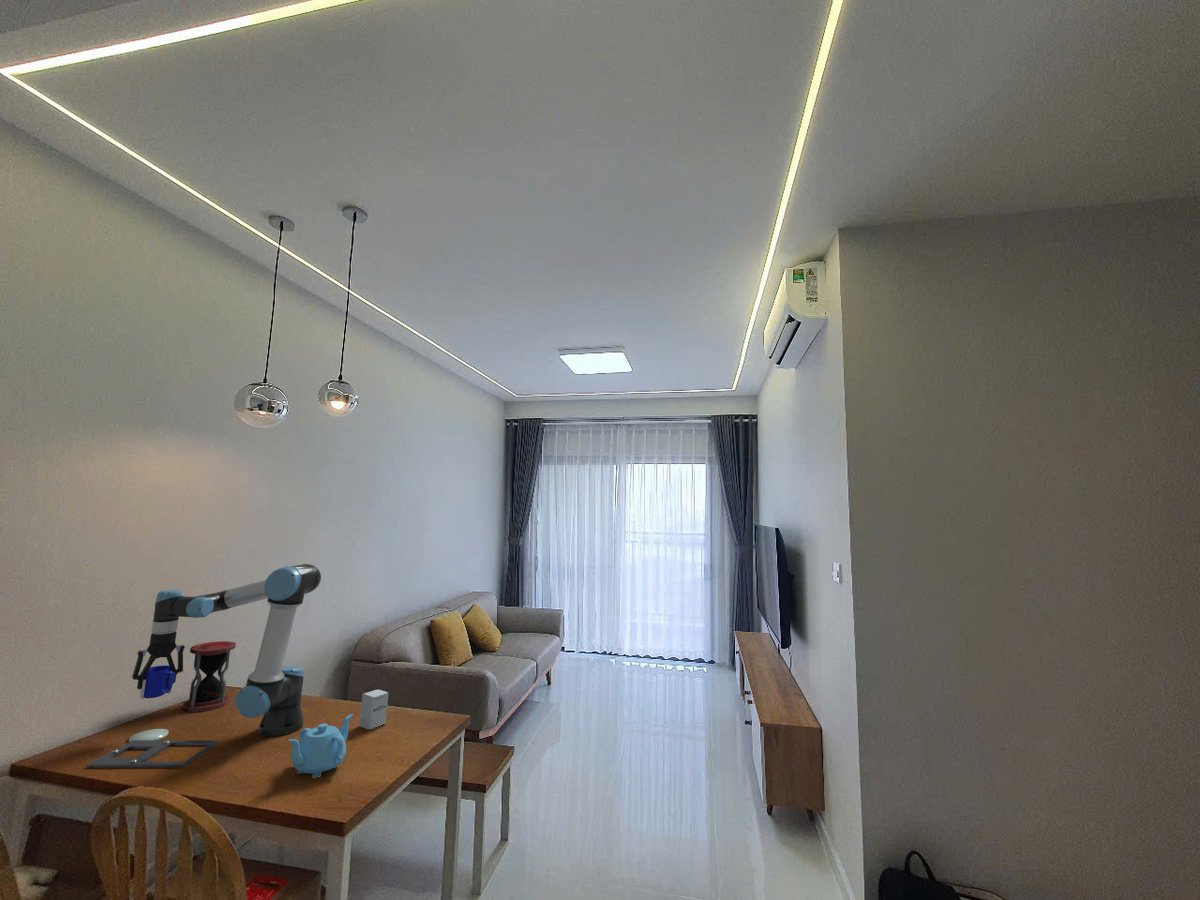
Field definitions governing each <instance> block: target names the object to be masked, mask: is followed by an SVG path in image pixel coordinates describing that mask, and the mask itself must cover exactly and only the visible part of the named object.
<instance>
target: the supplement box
mask: <svg viewBox="0 0 1200 900" xmlns="http://www.w3.org/2000/svg"><path fill="white" fill-rule="evenodd" d="M388 702H389V692H387V691H385V690H382V689H375V690H371V691H368V692H365V693H362V694H361V705H360V715H359V727H360V726H361V727H360V728H362V727H364V728H363V729H365V728H367V729H372V730H374V729H376V728H375V727H377V728H379V727H378V726H380V727H382V726H381V725H383V724H385V723H387V712H388V704H389V703H388ZM385 725H386V724H385ZM383 726H384V725H383ZM373 728H374V729H373ZM367 729H366V730H367Z"/></svg>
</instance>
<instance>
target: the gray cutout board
mask: <svg viewBox="0 0 1200 900" xmlns="http://www.w3.org/2000/svg"><path fill="white" fill-rule="evenodd" d="M220 741H221V740H217V739H216V740H215V739H214V740H210V739H209V740H206V739H205V740H203V739H201V740H200V739H198V740H197V739H196V740H191V739H189V740H187V739H186V740H177V739H176V740H175V739H173V740H171V739H168V740H166V739H165V740H164V739H163V740H162V739H160V740H132V741H130V742H129V741H128V742H127V743H125V744H123V745H121V746H119V747H117V748H116V749H114V750H111V751H109V752H107V753H106V754H104V755H102V756H100V757H98V758H97V759H95V760H93V761H90V762H88V763H87V764H86V765H85V768H86V767H94V768H93V769H140V768H141V769H145V768H146V769H156V768H157V769H165V768H167V769H169V768H170V769H171V768H172V769H174V768H175V769H176V768H178V769H181V768H185V767H186V766H187V765H190V763H192V762H194V761H195V760H196V759H198V758H199V757H202V756H203V754H205V753H207V752H209V751H210V750H211V749H212V748H213V749H214V747H216V746H217V745H219V744H220ZM182 746H183V747H184V746H185V747H193V746H194V747H196V746H197V747H204V746H205V748H203V749H201V750H200V751H198V752H197V753H195V754H194V755H192V756H191V757H189V758H188V759H186V760H185V761H148V760H151V759H152V758H154V757H155V756H157V755H158V754H160V753H162V752H164V751H165V750H167V749H169V748H170V747H182ZM129 750H132V751H133V750H136V751H139V750H140V751H141V750H142V751H143V750H145V751H144V752H141V753H140V754H139V755H136V756H135V757H132V756H131V757H128V756H125V757H119V756H120V755H123V754H124V753H126V752H127V751H129Z"/></svg>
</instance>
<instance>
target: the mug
mask: <svg viewBox="0 0 1200 900" xmlns="http://www.w3.org/2000/svg"><path fill="white" fill-rule="evenodd" d="M170 675H171V676H170ZM169 676H170V682H169V686H168V681H169ZM174 677H175V673H174V672H171V668H170V667H169V665H165V664H164V665H155V666H151V667H150V669H149V670H148V672H147V674H146V676H145V677H144V679H146V683H145V690H144V697H143V699H155V698H159V697H161V696H164V695H165V694H168V692H170V690H171V691H172V688H173V685H174V683H173V682H174ZM167 686H168V689H167Z"/></svg>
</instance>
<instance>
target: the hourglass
mask: <svg viewBox="0 0 1200 900" xmlns="http://www.w3.org/2000/svg"><path fill="white" fill-rule="evenodd" d="M236 645H237V644H236V642H234V641H229V640H224V641H223V640H222V641H221V640H220V641H211V642H210V641H208V642H204V643H202V642H201V643H198V644H195V645H193V646H191V647H190V650H189V652H190V654H194V659H193V660H194V661H193V670H195V676H194V678H193V679H192V681H191V682H190V691H189V698H188V700H186V701H185V702H183V703H182V706H181V707H182V708H181V709H182V711H185V712H189V713H200V712H206V711H211V710H215V709H220V708H221V707H224V706H226V705H228V703H229V702H230V697H229V696H228V695H226V688H227V687H226V686H227V683H226V680H225V672H226V671H227V670H229V669H228V668H229V663H230V656H231V651H232V650H234V649H236ZM200 671H201V672H202V673H203V674H205V677H203V678H202V674H201V672H200ZM216 672H217V676H218V677H219V678H217V677H216V676H215V675H214V674H215V673H216Z"/></svg>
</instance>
